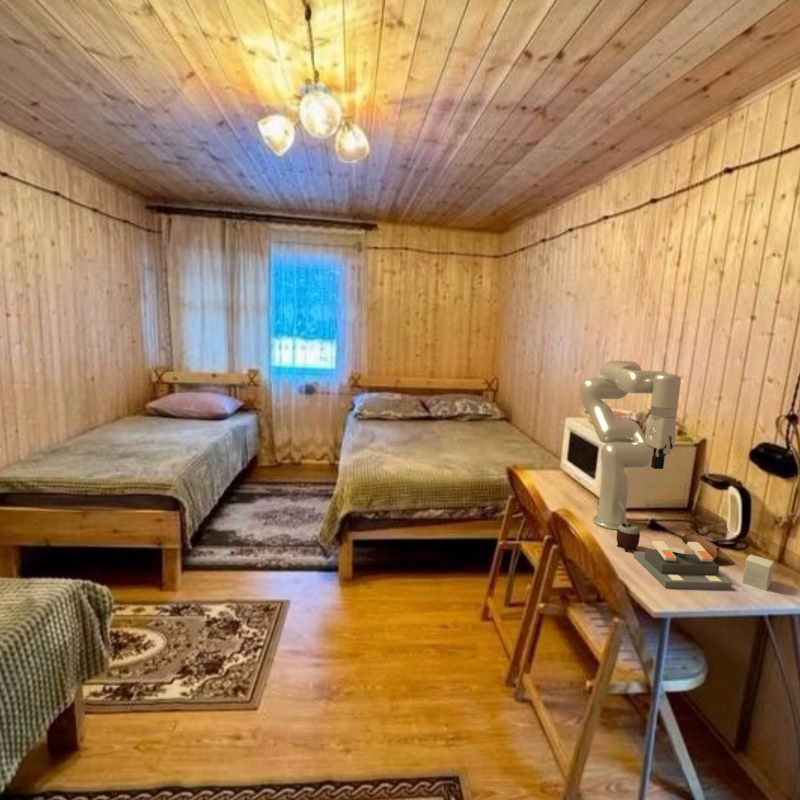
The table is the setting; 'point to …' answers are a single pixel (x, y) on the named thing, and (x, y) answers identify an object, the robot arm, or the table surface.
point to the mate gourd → (627, 534)
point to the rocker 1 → (664, 550)
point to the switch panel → (686, 578)
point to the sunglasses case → (710, 549)
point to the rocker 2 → (700, 551)
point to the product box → (758, 572)
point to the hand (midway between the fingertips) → (657, 468)
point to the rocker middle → (682, 551)
